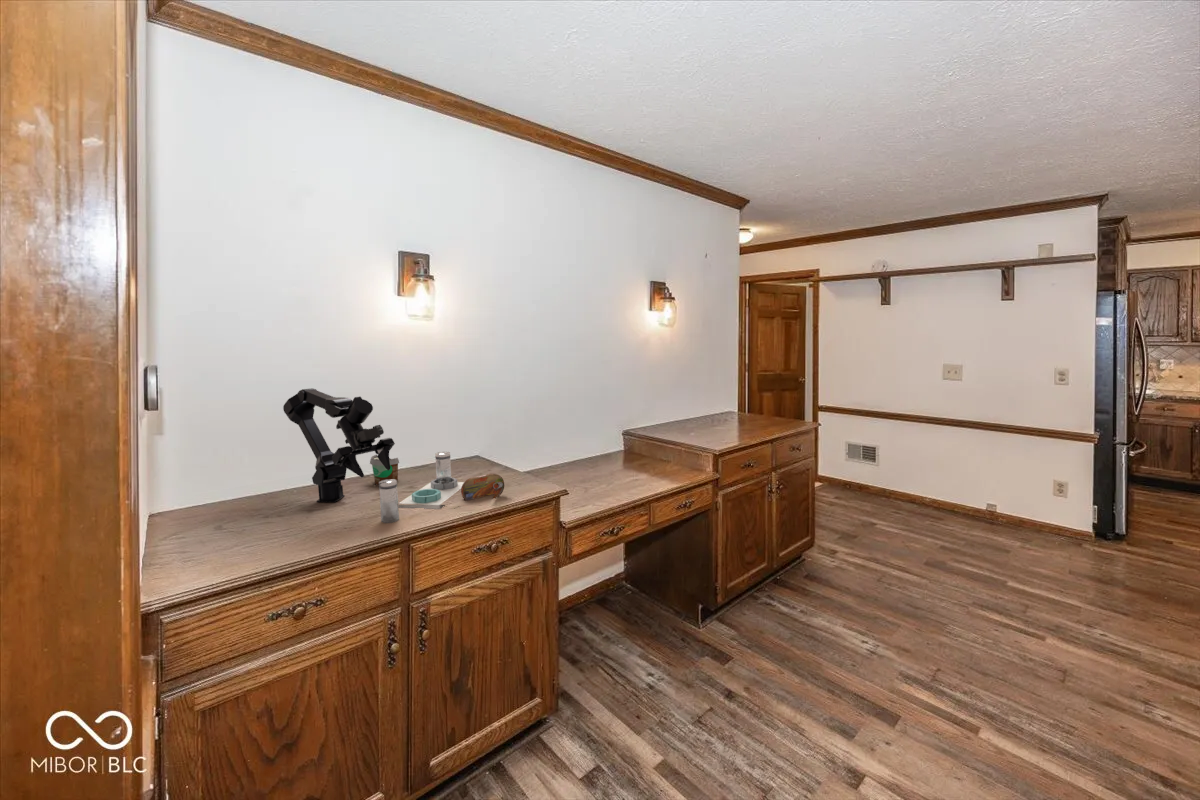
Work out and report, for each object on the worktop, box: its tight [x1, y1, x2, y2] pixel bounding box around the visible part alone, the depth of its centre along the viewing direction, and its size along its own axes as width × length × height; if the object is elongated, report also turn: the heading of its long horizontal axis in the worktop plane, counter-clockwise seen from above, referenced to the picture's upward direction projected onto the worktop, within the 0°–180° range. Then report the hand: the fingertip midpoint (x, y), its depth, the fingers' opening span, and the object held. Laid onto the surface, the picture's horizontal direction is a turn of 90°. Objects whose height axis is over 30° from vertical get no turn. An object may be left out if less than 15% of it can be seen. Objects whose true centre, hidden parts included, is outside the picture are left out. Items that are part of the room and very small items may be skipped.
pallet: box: [398, 476, 465, 510], centre depth 183 cm, size 14×25×4 cm, turn 173°
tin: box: [460, 473, 505, 502], centre depth 179 cm, size 15×3×8 cm, turn 129°
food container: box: [369, 454, 400, 486], centre depth 197 cm, size 12×6×10 cm, turn 62°
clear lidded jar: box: [435, 451, 452, 484], centre depth 189 cm, size 5×5×12 cm
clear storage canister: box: [378, 479, 400, 524], centre depth 160 cm, size 5×5×12 cm
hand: (376, 473), depth 165 cm, fingers open, 9 cm apart
